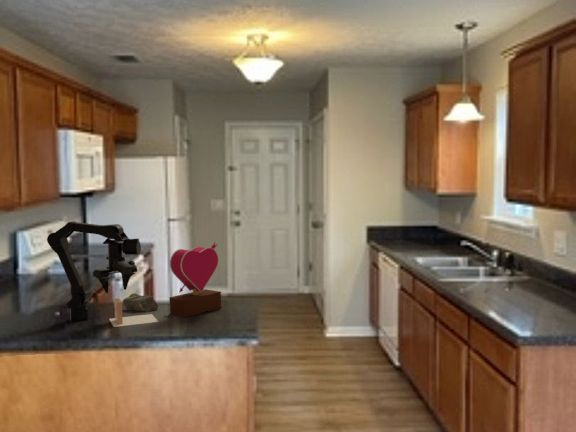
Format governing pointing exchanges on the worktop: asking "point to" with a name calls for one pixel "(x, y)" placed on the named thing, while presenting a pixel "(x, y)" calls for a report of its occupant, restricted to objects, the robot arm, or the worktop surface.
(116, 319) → the terracotta tile
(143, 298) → the rock
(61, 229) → the robot arm
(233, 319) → the worktop surface
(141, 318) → the beige mat
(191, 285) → the heart arrow ornament
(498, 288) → the worktop surface
